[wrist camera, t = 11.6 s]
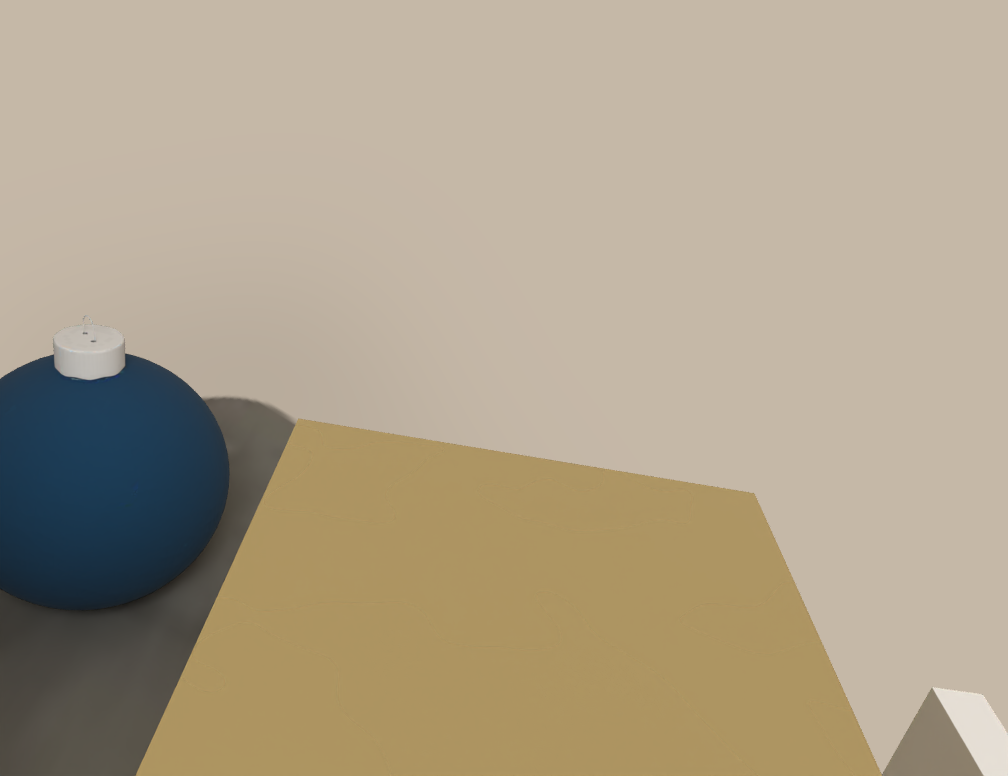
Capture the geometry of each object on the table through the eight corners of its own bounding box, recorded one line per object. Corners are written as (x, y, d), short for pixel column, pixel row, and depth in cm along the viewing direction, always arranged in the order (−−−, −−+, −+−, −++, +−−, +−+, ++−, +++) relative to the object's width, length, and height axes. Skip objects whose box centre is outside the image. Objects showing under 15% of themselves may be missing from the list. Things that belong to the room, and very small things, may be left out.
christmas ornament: (269, 602, 30) (288, 350, 26) (9, 711, 24) (-25, 412, 20) (161, 483, 35) (162, 253, 31) (-77, 550, 29) (-119, 281, 25)
